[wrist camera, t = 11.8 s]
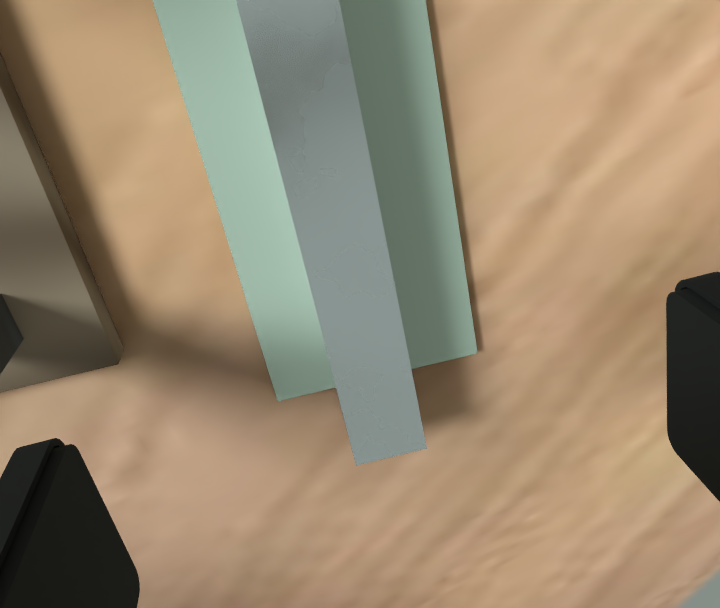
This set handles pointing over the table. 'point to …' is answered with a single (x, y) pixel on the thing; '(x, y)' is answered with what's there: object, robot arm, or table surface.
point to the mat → (268, 197)
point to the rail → (336, 216)
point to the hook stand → (42, 268)
